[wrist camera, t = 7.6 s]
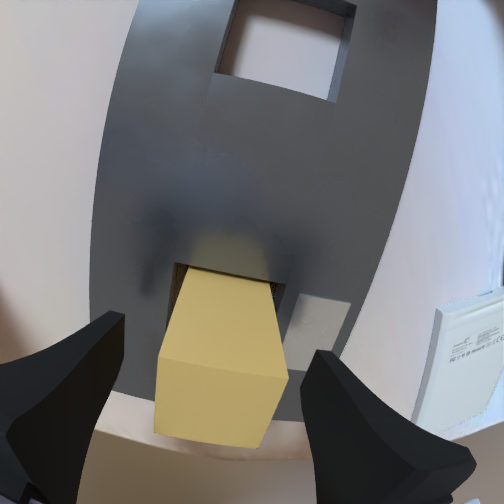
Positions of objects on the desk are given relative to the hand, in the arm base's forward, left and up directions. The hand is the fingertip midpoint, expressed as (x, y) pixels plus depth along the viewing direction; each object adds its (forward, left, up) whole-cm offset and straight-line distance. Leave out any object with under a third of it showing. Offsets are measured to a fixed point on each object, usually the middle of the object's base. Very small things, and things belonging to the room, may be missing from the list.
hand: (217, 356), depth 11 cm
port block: (0, +6, -4) cm, 7 cm away
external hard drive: (+18, -2, -5) cm, 19 cm away
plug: (0, 0, -4) cm, 4 cm away
